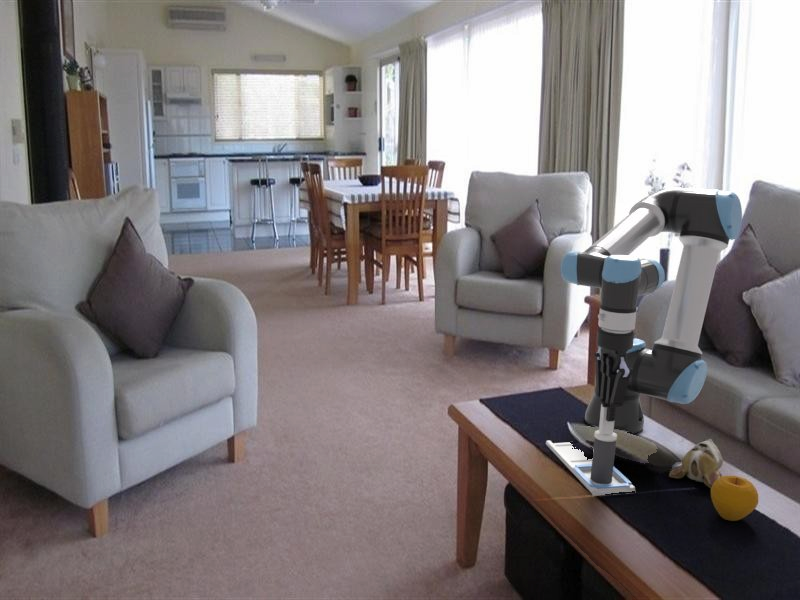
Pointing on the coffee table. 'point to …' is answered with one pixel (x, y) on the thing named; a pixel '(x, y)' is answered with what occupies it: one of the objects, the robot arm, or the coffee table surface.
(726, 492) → the apple
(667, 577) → the coffee table surface
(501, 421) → the coffee table surface
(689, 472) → the ceramic sculpture
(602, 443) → the grey and white cylinder
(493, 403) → the coffee table surface
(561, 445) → the white divided tray
